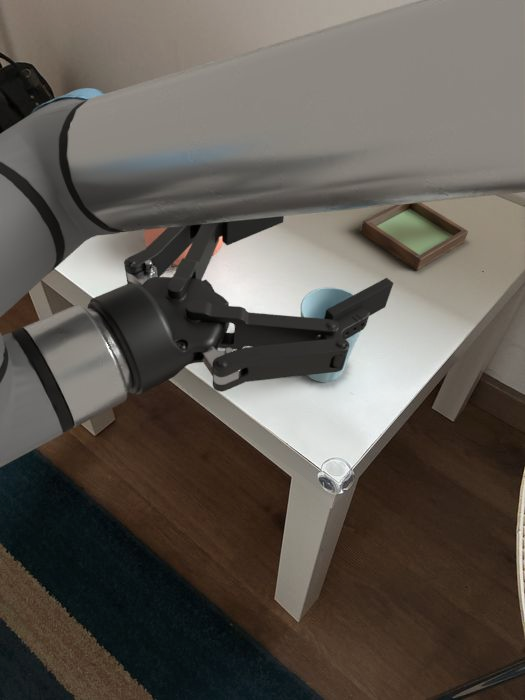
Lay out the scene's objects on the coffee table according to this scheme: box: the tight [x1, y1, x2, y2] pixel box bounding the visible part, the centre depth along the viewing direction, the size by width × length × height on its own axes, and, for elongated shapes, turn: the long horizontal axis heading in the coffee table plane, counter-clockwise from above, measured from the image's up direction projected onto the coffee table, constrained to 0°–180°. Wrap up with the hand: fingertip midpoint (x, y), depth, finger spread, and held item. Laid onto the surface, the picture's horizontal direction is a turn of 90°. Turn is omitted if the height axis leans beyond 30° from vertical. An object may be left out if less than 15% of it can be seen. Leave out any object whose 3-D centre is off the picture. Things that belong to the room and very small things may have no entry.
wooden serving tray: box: [360, 202, 469, 272], centre depth 88 cm, size 12×12×2 cm
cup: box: [300, 286, 362, 383], centre depth 66 cm, size 8×8×10 cm
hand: (330, 247), depth 47 cm, fingers open, 13 cm apart
